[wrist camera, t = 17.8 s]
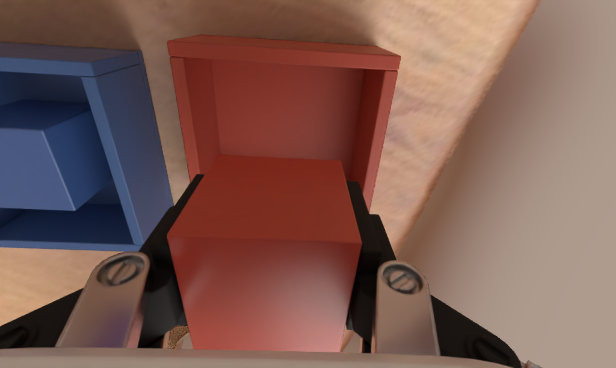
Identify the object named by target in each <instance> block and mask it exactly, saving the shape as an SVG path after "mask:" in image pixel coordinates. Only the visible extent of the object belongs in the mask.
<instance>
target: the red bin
mask: <svg viewBox="0 0 616 368" xmlns="http://www.w3.org/2000/svg"><path fill="white" fill-rule="evenodd" d="M167 45H168V51H169V55H170V56H171V57H170V63H171V69H172V75H173V81H174V87H175V93H176V99H177V105H178V111H179V117H180V123H181V129H182V135H183V141H184V147H185V153H186V159H187V165H188V171H189V177H190V183H191V181H192V180H193V178H194V177H195V176H196V174H205V173H206V172H207V170H208V169H209V167H210V166H211V164H212V162H213V161H214V159H215V158H216V156H217V155H237V156H257V157H277V158H298V159H318V160H338V161H341V164H342V168H343V172H344V176H345V180H346V181H358V182H359V184H360V187H361V190H362V193H363V196H364V199H365V202H366V205H367V208H368V211H370V206H371V201H372V197H373V192H374V187H375V182H376V177H377V172H378V167H379V162H380V158H381V153H382V148H383V143H384V138H385V133H386V128H387V123H388V118H389V114H390V109H391V104H392V99H393V94H394V89H395V84H396V79H397V74H398V71H397V70H398V69H399V65H400V60H401V56H399V55H397V54H394V53H392V52H390V51H387V50H385V49H382V48H380V47H378V46H366V45H351V44H336V43H321V42H306V41H291V40H276V39H261V38H246V37H230V36H215V35H196V36H191V37H185V38H180V39H175V40H169V41H167Z"/></svg>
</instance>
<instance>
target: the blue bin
mask: <svg viewBox="0 0 616 368" xmlns="http://www.w3.org/2000/svg"><path fill="white" fill-rule="evenodd" d="M19 100H39V101H56V102H73V103H89V104H90V107H91V110H92V114H93V117H94V120H95V123H96V126H97V129H98V132H99V136H100V139H101V142H102V145H103V148H104V151H105V154H106V158H107V161H108V164H109V167H110V170H111V173H112V177H113V179H112V180H111V181H110V182H108V183H107V184H106V185H105V186H104V187H103V188H101V189H100V190H99V191H98V192H97V193H96V194H94V195H93V196H92V197H91V198H90V199H89V200H87V201H86V202H85V203H84V204H83V205H81V206H80V207H79V208H78V209H77V210H75V211H68V210H45V209H22V208H0V247H8V248H37V249H66V250H95V251H124V252H127V251H137V252H138V251H139V250H140V248H141V247H142V245H143V244H144V243H145V241H146V240H147V238H148V237H149V236H150V234H151V233H152V231H153V230H154V228H155V227H156V226H157V224H158V223H159V221H160V220H161V219H162V217H163V216H164V214H165V213H166V212H167V210H168V209H169V208H170V207H171V206H174V204H173V200H172V195H171V190H170V185H169V180H168V176H167V171H166V166H165V161H164V156H163V152H162V147H161V142H160V137H159V132H158V128H157V123H156V118H155V113H154V108H153V104H152V99H151V94H150V89H149V85H148V80H147V75H146V70H145V65H144V61H143V56H142V52H141V51H136V50H120V49H104V48H88V47H73V46H57V45H41V44H25V43H9V42H0V106H2V105H5V104H9V103H12V102H15V101H19Z"/></svg>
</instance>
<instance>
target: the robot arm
mask: <svg viewBox="0 0 616 368" xmlns="http://www.w3.org/2000/svg"><path fill="white" fill-rule="evenodd" d="M204 175H205V174H196V176H195V177H194V178H193V180H192V181H191V183H190V184H189V186H188V187H187V189H186V190H185V192H184V193H183V194H182V196H181V197H180V199H179V200H178V202H177V203H176V205H175V206H171V207H170V208H169V209H168V210H167V212H166V213H165V214H164V216H163V217H162V219H161V220H160V221H159V223H158V224H157V226H156V227H155V228H154V230H153V231H152V233H151V234H150V236H149V237H148V238H147V240H146V241H145V243H144V244H143V245H142V247H141V248H140V250H139V251H138V252H137V251H127V252H123V253H118V254H116V255H113V256H111V257H109V258H107V259H105V260H104V261H102V262H101V263H100V264H99V265H97V266H96V267H95V269H94V270H93V271H92V273H91V275H90V277H89V279H88V281H87V283H86V285H85V287H84V288H82V289H80V290H78V291H76V292H73V293H71V294H69V295H67V296H65V297H63V298H60V299H58V300H56V301H54V302H52V303H50V304H47V305H45V306H43V307H41V308H39V309H37V310H34V311H32V312H30V313H28V314H26V315H24V316H21V317H19V318H17V319H15V320H13V321H11V322H8V323H6V324H4V325H2V326H0V368H542V367H540V366H538V365H536V364H534V363H532V362H530V361H527V363H526V364H524V363H523V362H521V361H520V360H519V359H518V357H517V356H516V354H515V353H514V351H513V350H512V349H511V348H510V347H509V346H508V345H507V344H506V343H505V342H504V341H502V340H501V339H500V338H498V337H497V336H495V335H494V334H492V333H491V332H489V331H487V330H486V329H484V328H483V327H481V326H480V325H478V324H477V323H475V322H473V321H472V320H470V319H469V318H467V317H465V316H464V315H462V314H461V313H459V312H457V311H456V310H454V309H453V308H451V307H450V306H448V305H446V304H445V303H443V302H442V301H440V300H438V299H437V298H435V297H434V296H432V295H430V290H429V284H428V281H427V279H426V277H425V275H424V274H423V273H422V272H421V271H420V270H419V269H417V268H416V267H415V266H413V265H411V264H409V263H406V262H403V261H397V260H396V257H395V255H394V252H393V250H392V247H391V244H390V242H389V239H388V237H387V234H386V231H385V229H384V226H383V224H382V221H381V218H380V216H379V215H376V214H369V211H368V208H367V205H366V202H365V199H364V196H363V193H362V190H361V187H360V184H359V182H358V181H346V183H347V187H348V191H349V195H350V199H351V203H352V206H353V210H354V214H355V218H356V222H357V226H358V229H359V233H360V237H361V241H362V245H361V250H360V255H359V260H358V265H357V270H356V275H355V280H354V285H353V290H352V295H351V300H350V305H349V310H348V315H347V320H346V327H347V330H353V331H355V332H356V333H357V334H358V335H359V336H361V342H360V353H339V352H302V351H257V350H210V349H168V343H169V337H170V330H171V329H173V328H174V327H176V326H177V325H181V326H188V325H187V320H186V316H185V312H184V307H183V303H182V299H181V295H180V290H179V286H178V282H177V277H176V273H175V269H174V265H173V260H172V256H171V252H170V247H169V243H168V239H167V234H168V232H169V231H170V229H171V227H172V226H173V224H174V223H175V221H176V219H177V218H178V216H179V215H180V213H181V212H182V210H183V208H184V207H185V205H186V204H187V202H188V200H189V199H190V197H191V196H192V194H193V192H194V191H195V189H196V188H197V186H198V185H199V183H200V181H201V180H202V178H203V177H204Z"/></svg>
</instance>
